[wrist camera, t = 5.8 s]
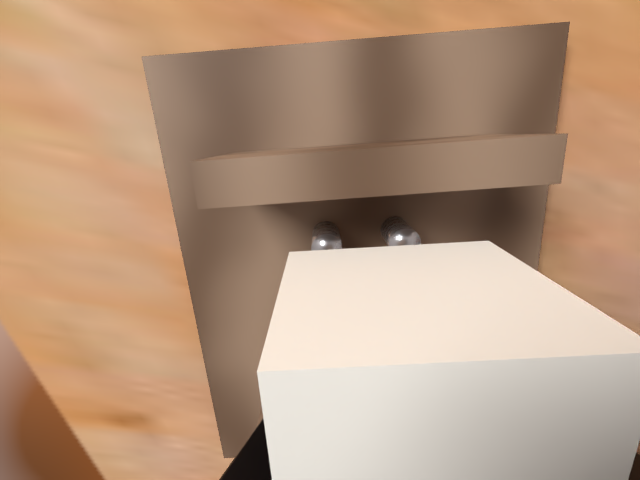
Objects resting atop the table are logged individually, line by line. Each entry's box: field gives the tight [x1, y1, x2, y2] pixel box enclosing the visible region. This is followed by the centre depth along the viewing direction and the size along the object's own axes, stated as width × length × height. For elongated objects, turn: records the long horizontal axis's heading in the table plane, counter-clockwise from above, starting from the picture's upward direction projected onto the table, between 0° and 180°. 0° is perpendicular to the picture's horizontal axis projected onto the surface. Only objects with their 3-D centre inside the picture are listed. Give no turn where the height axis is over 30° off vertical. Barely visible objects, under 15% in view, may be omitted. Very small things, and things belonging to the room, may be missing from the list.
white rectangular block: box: [257, 241, 640, 480], centre depth 7 cm, size 8×5×4 cm, turn 3°
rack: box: [142, 22, 570, 458], centre depth 14 cm, size 16×20×6 cm
